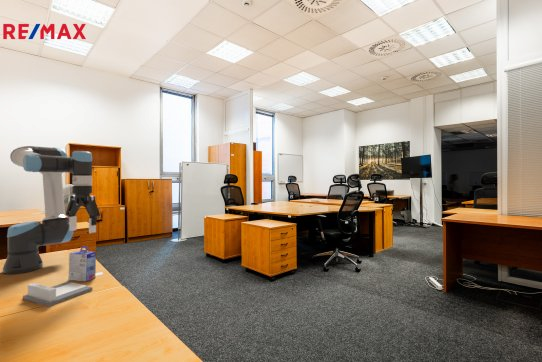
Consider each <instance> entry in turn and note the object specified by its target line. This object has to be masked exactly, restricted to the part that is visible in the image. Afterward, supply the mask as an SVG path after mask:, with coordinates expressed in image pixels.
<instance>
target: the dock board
mask: <svg viewBox="0 0 542 362" xmlns="http://www.w3.org/2000/svg"><path fill="white" fill-rule="evenodd" d="M92 291H93V287H92V286H88V285H85V284H80V283H76V282H71V281H65V282H62V283H59V284H56V285H53V286H48V285H43V284H40V283H39V284H38V283H35V282H33V283H32V282H31V283H29V284H27V294H24V295H22V299H23V300H25V301H28V302H31V303H35V304H39V305H42V306H45V307H51V306H54V305H57V304H60V303H62V302H65V301H67V300H70V299H72V298H76V297H78V296H81V295H84V294H86V293H88V292H92Z"/></svg>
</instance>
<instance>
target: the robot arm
mask: <svg viewBox="0 0 542 362" xmlns="http://www.w3.org/2000/svg"><path fill="white" fill-rule="evenodd" d="M10 161H11V162H12V163H13V164H14V165H16V166H18V167H22V168H23V170H24V171H25V172H29V173H30V172H31V173H40V174H41V175H42V187H43V200H44V202H43V203H44V213H45V217H44V218H43V219H42V220H41V223H39V221H38V220H37V221H26V222H21V223H17V224H13V225H11V226H9V227H8V229H7V235H6V238H7V257H6V260H5V261H4V264H3V267H2V273H3V274H4V273H6V275H12V274H13V275H15V274H17V275H18V274H23V273H29V272H33V271H36V270H39V269H41V268H43V267H42V266H44V261H43V259H42V257H41V255H40V252H39V247H43V246H49V245H58V244H62V243H67V242H70V241H71V240H72V238H73V234H74V231H77V225H78V224H77V213H78V211H79V210H80V207H84V208H85V210H86V212H87V214H88V215H89V217H88V234H93V233H97V218H98V217H99V218H100V217H101V213H100V209H99V208H98V204H97V201H96V195H91V194H92V193H93V186H92V185H93V161H94V160H93V154H92V152H90V151H85V150H74V151H73V152H72V153H71V156H68V154H67V152H66V151H65V149H63V148H59V147H48V146H47V147H46V146H33V145H32V146H31V145H26V146H19V147H17V148H15V149H13V151H11V153H10ZM64 173H68V174H72V178H71V179H72V188H71V190H72V193H71V194H73V195H70V197H69V202H68V206H67V209H65V197H64V187H63V186H64V185H63V174H64Z"/></svg>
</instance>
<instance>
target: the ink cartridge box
mask: <svg viewBox="0 0 542 362" xmlns="http://www.w3.org/2000/svg"><path fill="white" fill-rule="evenodd" d="M88 249H89V246H81V248H80V249H79V250H77V251H73V252H70V253H69V254H68V279H67V280H68V281H79V282H89V281H90V280H93V279H96V272H97V271H96V259H97V258H96V257H97V255H96V254H97V252H96V251H88Z"/></svg>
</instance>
